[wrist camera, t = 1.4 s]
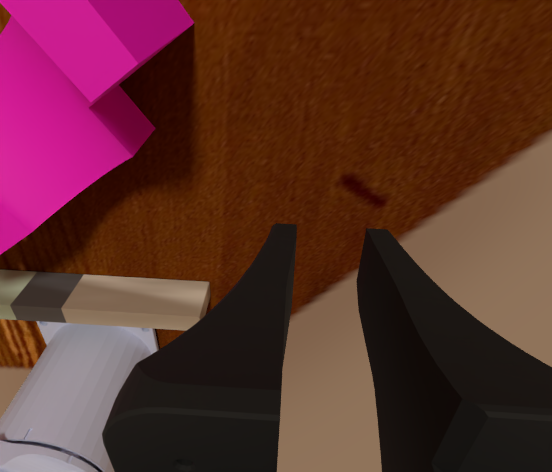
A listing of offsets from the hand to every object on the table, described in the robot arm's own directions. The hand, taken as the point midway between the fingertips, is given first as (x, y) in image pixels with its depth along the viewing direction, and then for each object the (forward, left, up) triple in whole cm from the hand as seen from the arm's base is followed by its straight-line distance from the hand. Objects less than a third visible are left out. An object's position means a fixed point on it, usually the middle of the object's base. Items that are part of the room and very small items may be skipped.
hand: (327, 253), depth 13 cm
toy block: (+1, +12, -10) cm, 16 cm away
